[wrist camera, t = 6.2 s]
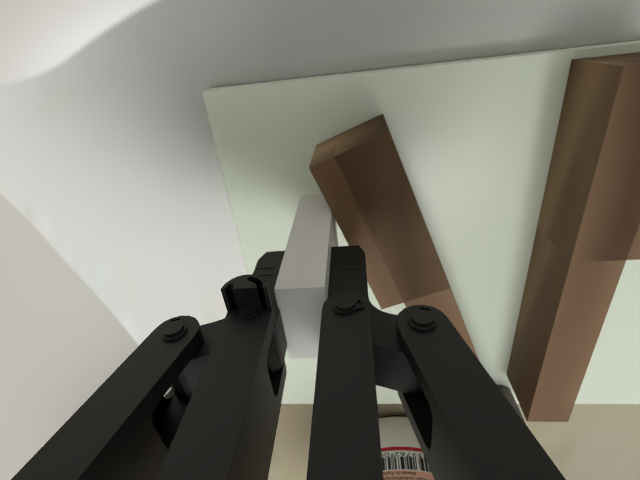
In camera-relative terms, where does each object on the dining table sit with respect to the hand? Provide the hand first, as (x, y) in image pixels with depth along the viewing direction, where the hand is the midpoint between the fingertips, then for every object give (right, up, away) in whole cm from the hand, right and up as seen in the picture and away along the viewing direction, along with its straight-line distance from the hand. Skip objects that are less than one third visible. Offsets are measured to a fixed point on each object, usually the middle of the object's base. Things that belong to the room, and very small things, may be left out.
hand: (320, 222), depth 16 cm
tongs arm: (+5, -3, +3) cm, 6 cm away
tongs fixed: (+11, -2, +2) cm, 12 cm away
